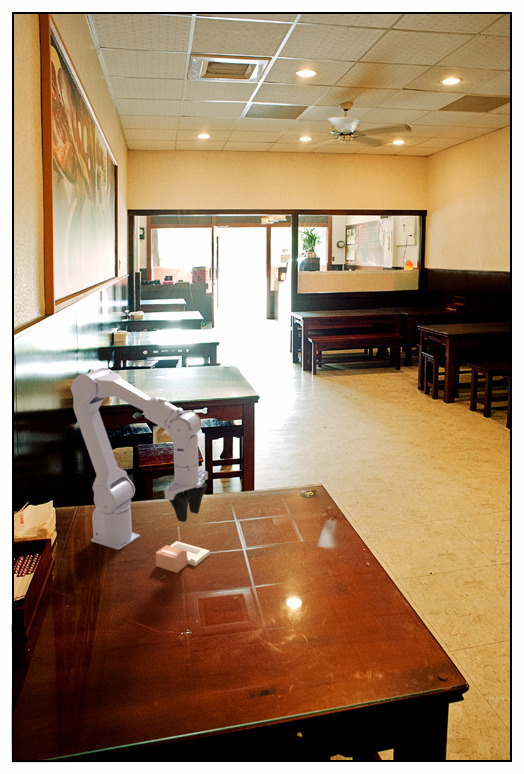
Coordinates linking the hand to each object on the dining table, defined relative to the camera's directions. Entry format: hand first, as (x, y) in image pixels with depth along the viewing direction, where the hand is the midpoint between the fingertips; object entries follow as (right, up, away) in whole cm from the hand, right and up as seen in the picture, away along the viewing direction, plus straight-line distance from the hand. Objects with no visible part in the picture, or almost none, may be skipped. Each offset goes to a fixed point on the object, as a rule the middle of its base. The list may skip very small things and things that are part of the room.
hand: (188, 516), depth 135 cm
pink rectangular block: (-3, -11, -4) cm, 12 cm away
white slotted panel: (-1, -9, +1) cm, 10 cm away
